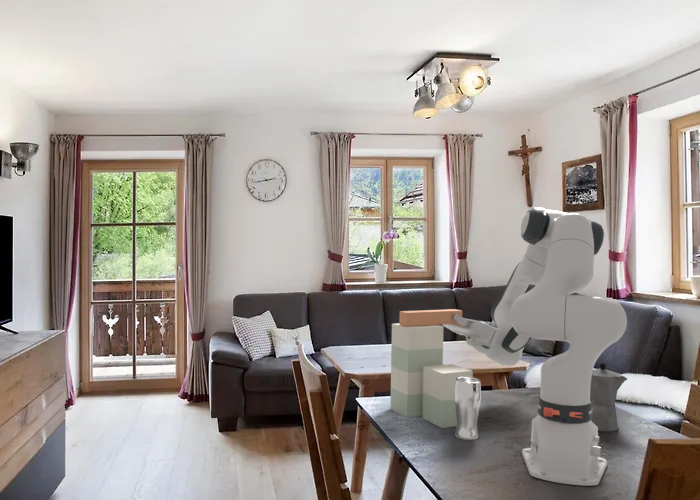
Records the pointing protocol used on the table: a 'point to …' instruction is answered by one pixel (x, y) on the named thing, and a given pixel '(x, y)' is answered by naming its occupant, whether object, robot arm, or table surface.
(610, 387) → the coffeepot
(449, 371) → the short tower
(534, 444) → the robot arm
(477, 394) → the beer glass
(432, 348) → the tall tower
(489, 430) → the table surface
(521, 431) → the table surface
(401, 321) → the long brick
